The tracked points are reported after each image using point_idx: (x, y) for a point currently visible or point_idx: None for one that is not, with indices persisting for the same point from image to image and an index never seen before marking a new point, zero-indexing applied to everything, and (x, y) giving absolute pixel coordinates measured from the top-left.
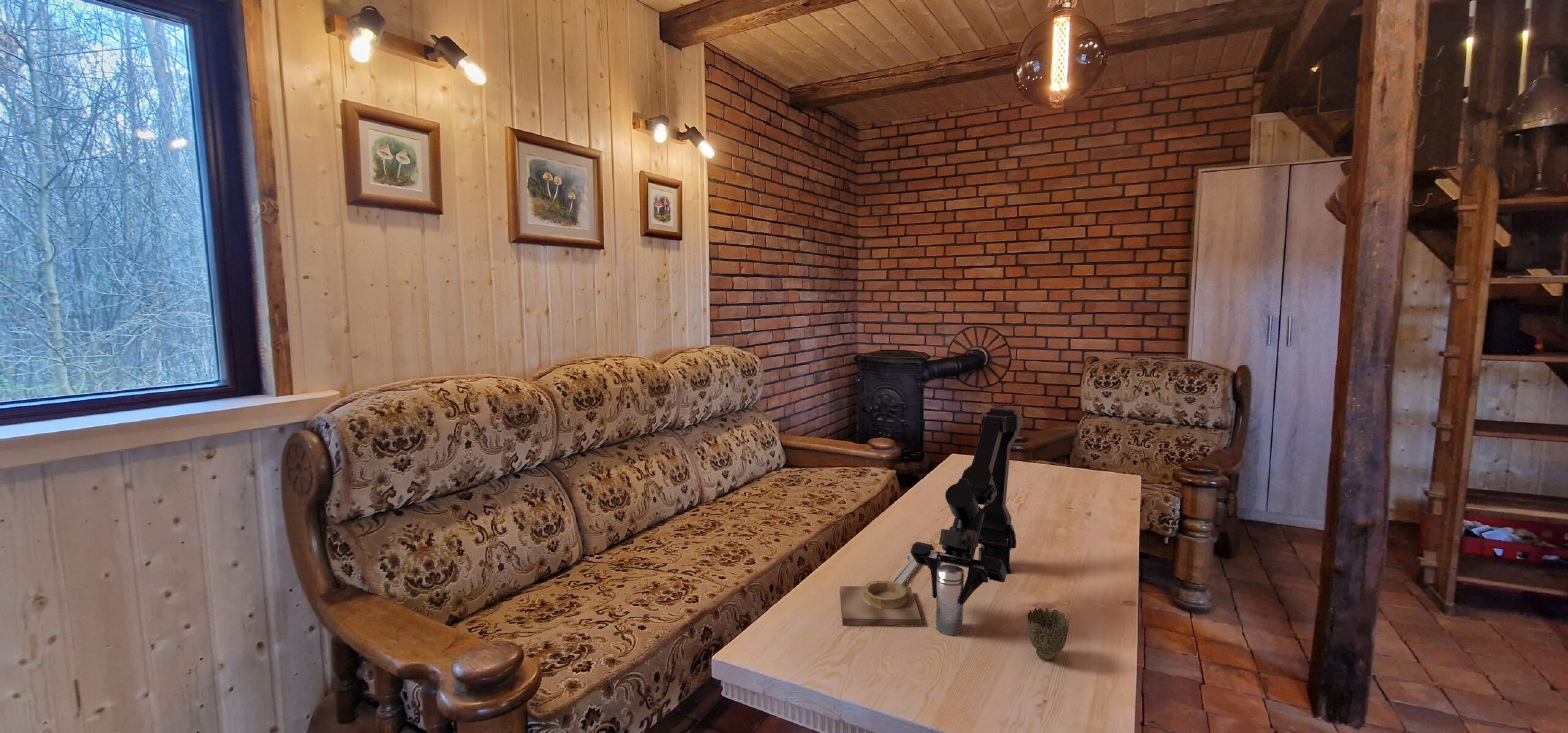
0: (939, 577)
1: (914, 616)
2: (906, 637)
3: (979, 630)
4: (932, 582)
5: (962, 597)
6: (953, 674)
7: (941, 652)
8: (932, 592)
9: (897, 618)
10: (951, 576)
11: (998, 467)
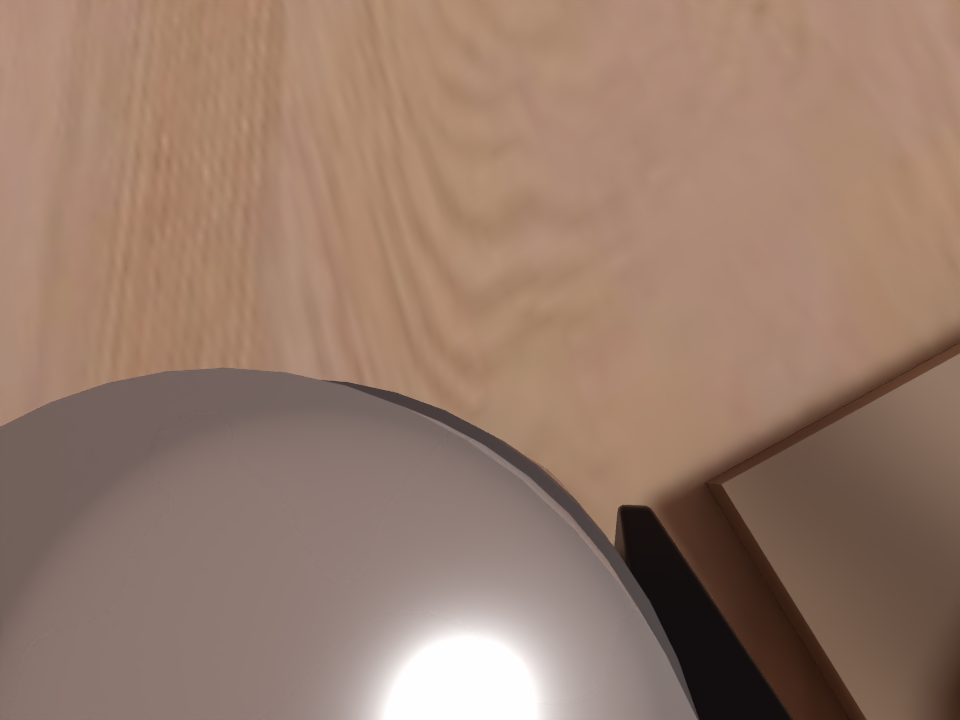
0: (502, 444)
1: (801, 504)
2: (732, 255)
3: None
4: (751, 677)
5: None
6: (295, 14)
7: (430, 199)
8: (671, 539)
9: (926, 385)
10: (67, 411)
11: None
